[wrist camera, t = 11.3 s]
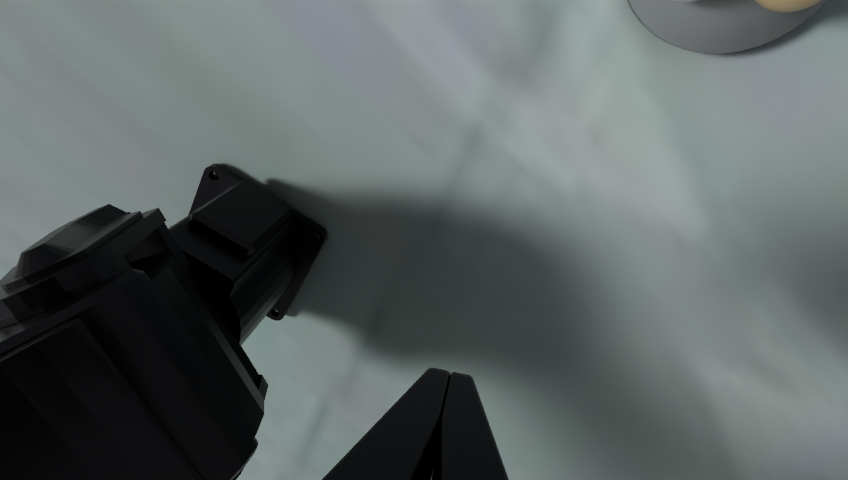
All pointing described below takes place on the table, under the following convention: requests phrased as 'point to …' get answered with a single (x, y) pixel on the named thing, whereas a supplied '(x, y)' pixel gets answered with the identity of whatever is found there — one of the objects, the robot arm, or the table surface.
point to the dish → (722, 21)
